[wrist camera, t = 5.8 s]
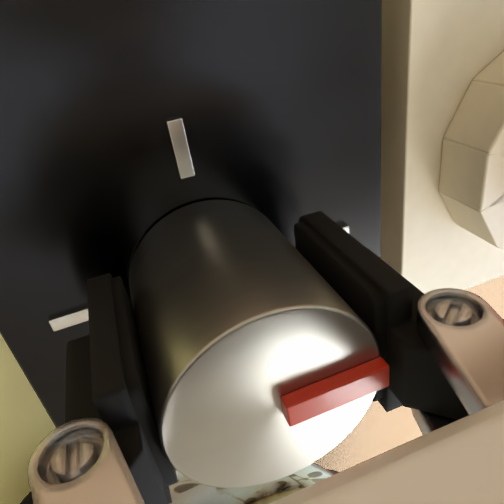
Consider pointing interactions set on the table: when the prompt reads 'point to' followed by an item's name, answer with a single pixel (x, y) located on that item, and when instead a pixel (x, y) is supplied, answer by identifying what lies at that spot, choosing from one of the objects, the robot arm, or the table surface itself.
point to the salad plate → (246, 489)
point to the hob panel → (169, 139)
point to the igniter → (443, 141)
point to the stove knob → (246, 347)
